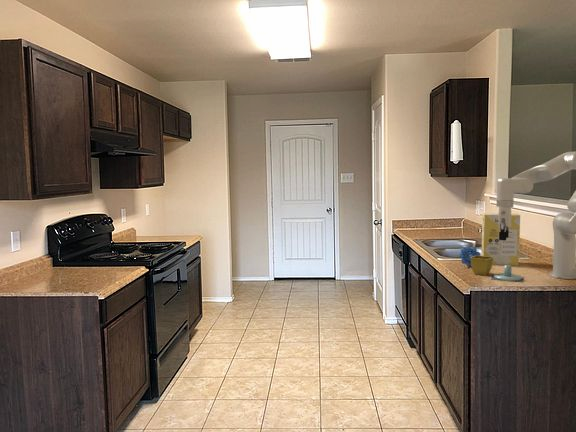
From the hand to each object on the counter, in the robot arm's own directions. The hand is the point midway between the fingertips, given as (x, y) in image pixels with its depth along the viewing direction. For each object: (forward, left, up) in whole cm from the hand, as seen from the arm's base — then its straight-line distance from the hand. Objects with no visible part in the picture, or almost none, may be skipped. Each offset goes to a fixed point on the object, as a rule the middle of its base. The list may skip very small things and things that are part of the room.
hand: (503, 238), depth 232 cm
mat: (-2, +2, -20) cm, 20 cm away
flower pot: (+10, -4, -20) cm, 23 cm away
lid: (-2, +2, -19) cm, 19 cm away
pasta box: (+5, -40, -20) cm, 45 cm away
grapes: (+18, -20, -20) cm, 33 cm away
